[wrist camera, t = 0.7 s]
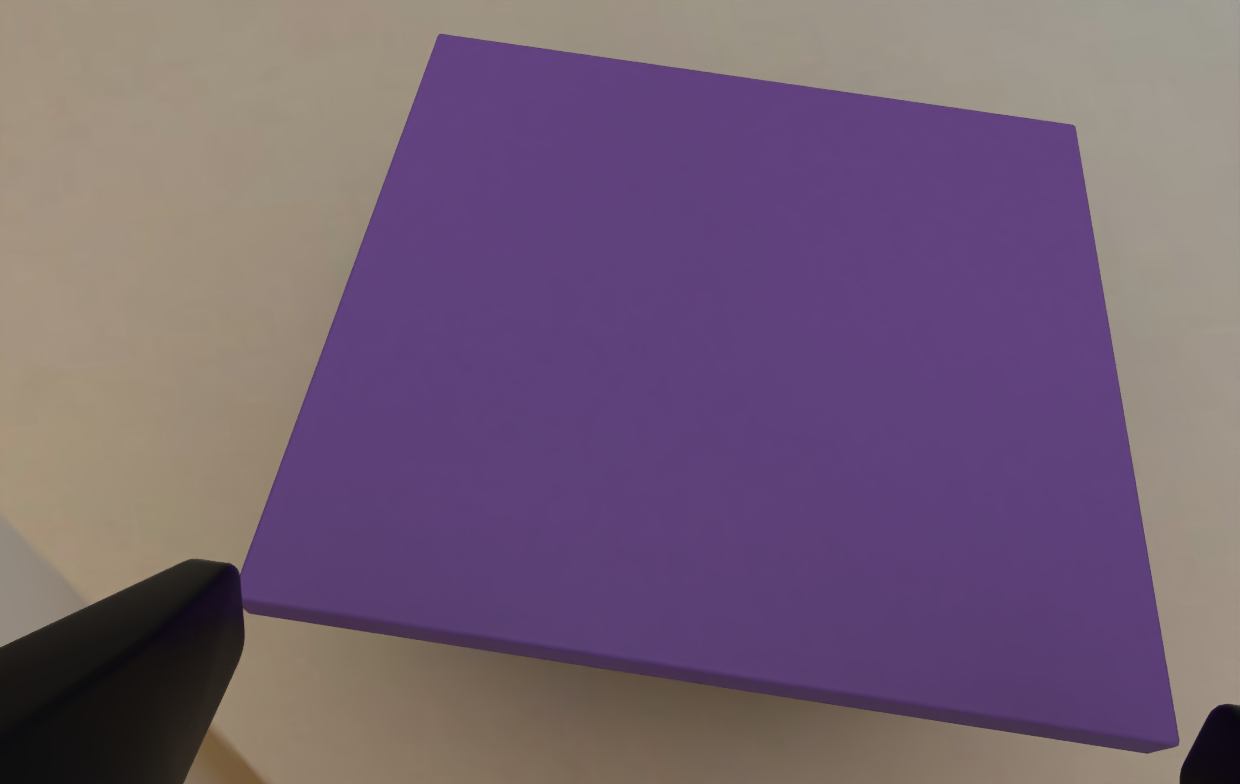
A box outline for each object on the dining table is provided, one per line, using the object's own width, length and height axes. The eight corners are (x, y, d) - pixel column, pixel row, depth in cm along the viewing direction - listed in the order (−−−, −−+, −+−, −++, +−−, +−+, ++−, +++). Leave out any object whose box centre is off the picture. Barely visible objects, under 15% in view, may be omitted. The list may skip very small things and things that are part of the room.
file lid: (1149, 754, 13) (1183, 747, 12) (246, 614, 13) (228, 597, 12) (1057, 151, 19) (1076, 123, 18) (442, 63, 19) (437, 31, 18)
